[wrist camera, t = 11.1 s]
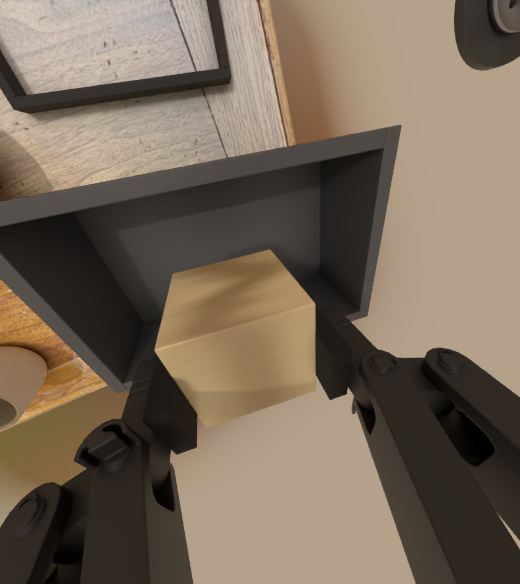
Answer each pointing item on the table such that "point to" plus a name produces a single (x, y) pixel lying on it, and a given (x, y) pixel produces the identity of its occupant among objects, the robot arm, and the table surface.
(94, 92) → the rim tray
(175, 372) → the toy block
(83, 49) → the table surface
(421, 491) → the robot arm
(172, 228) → the bin
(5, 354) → the planter
